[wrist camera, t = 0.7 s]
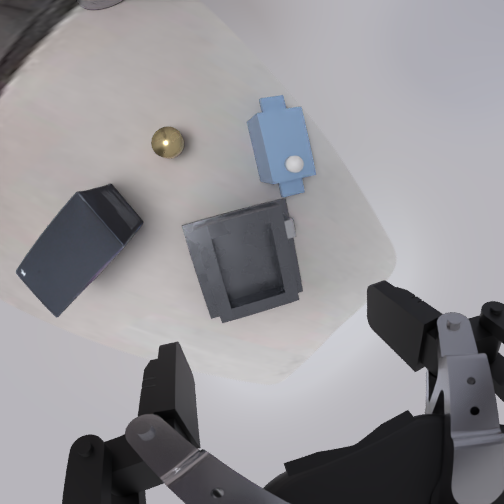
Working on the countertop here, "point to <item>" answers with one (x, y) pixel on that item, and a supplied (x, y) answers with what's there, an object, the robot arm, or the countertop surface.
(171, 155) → the cylinder
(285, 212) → the frame
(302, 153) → the servo
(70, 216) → the small box
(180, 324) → the countertop surface
